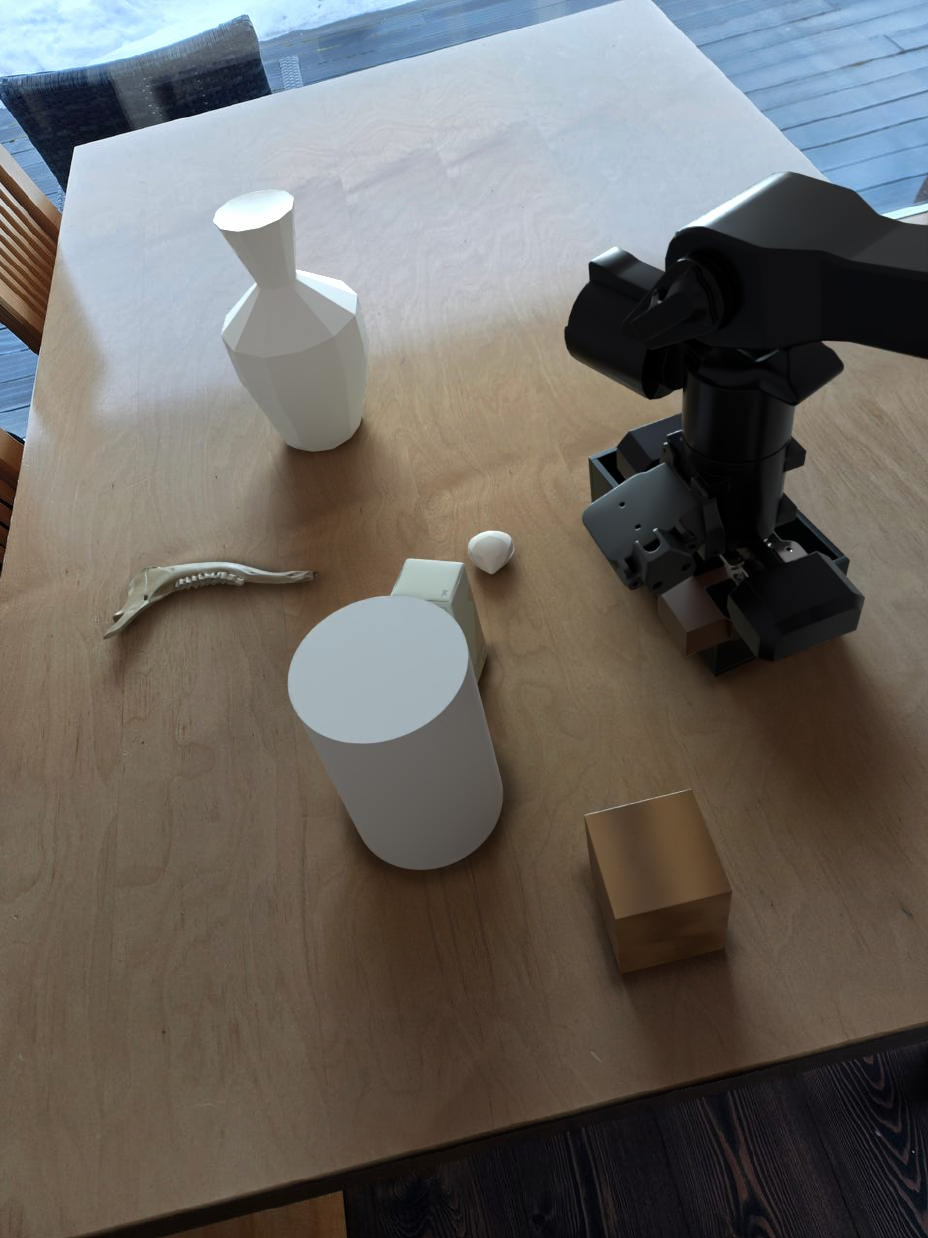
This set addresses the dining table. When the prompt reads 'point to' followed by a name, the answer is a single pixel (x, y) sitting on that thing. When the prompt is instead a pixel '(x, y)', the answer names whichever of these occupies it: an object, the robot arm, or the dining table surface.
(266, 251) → the vase
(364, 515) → the dining table surface
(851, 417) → the dining table surface
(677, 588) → the brown block
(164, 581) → the jawbone
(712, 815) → the dining table surface
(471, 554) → the white seashell
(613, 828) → the stand
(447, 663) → the white solid cylinder
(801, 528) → the trash bin
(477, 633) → the box
